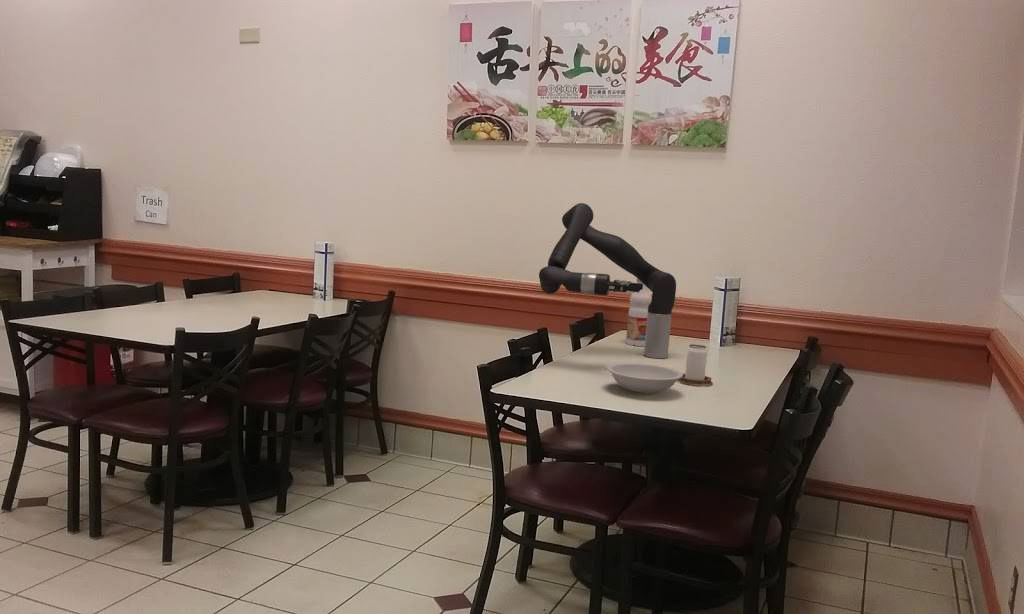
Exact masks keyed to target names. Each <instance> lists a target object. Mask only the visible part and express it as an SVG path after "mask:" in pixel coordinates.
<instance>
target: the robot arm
mask: <svg viewBox="0 0 1024 614" xmlns="http://www.w3.org/2000/svg"><path fill="white" fill-rule="evenodd" d="M593 220H594V211H593V209H592V207H591V206H590V205H588V204H586V203H584V202H580V203H576V204H574V205H573V206H572V207H571V208H570V209H569V210H567V211H566V212H565V213H564V214H563V215H562V217H561V222H562V225H563V227H564V229H566V230H565V231H564V233H563V234H562V236H561V237H560V239H559V240H558V241H557V242H556V244H555V246H554V248H553V249H552V252H551V253H550V256H549V257H548V260H547V261H548V262H547V266H544V267H541V269H540V271H539V273H538V278H539V283H540V288H541V291H543V293H545V294H546V295H552V294H555V293H557V292H558V291H559V290H560V288H561V286H563V287H564V288H565V290H566V291H567V292H572V293H578V294H579V293H580V294H586V295H593V296H608V295H609V293H610V292H614V293H628V292H630V293H633V292H640V290H642V289H643V284H644V285H645V286H646V287H647V288H648V291H649V292H651V293H652V295H651V297H652V300H651V303H650V304H649V305H648V314H647V326H646V337H645V346H644V349H643V356H644V355H645V357H649V358H652V359H653V358H654V359H667V358H668V356H669V347H670V346H669V345H670V338H671V337H670V335H671V324H672V313H673V312H672V311H673V309H674V307H675V303H676V301H675V300H676V295H677V294H676V292H677V280H676V278H675V277H674V276H673V275H672V274H671V273H669V272H665V271H664V270H661V269H658V268H657V267H655V266H654V265H652V264H651V263H649V262H648V261H647V260H645V258H644V257H643V256H642V255H641V254H640V253H639V251H638V250H637V249H636V248H635V247H634V246H633V245H631V244H630V243H629V242H627V241H626V240H625V239H624V238H622V237H621V236H618V235H615V234H612V233H609V232H604V231H601V230H599V229H596V228H595V227H593V226H592V225H591V224H592V222H593ZM580 240H582V241H583V242H585V243H586V244H589V246H591V247H593V248H594V249H595V250H597V251H598V252H600V253H601V254H602V255H604V256H605V258H607V259H608V260H610V261H611V262H612V263H614V264H615V265H617V266H618V267H619V268H621V269H623V270H624V271H626V273H627V272H628V273H629V274H631V275H633V276H634V277H635V278H636V279H637V278H638V279H639V280H640V281H641V282H642V283H643V284H640V283H637V282H632V281H631V280H630V281H628V280H620V279H615V280H613V281H611V276H610V274H607V273H596V272H595V273H594V272H577V271H570V270H567V269H566V268H567V266H568V265H569V262H570V260H571V257H572V256H573V254H574V251H575V249H576V247H577V245H578V244H579V241H580Z"/></svg>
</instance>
